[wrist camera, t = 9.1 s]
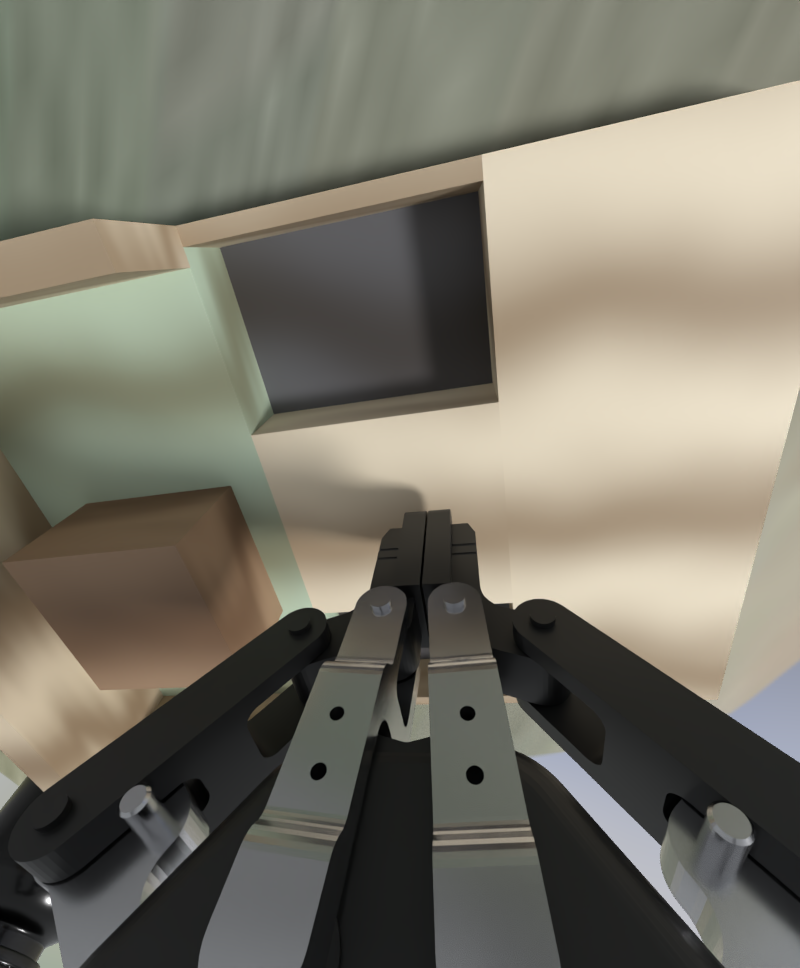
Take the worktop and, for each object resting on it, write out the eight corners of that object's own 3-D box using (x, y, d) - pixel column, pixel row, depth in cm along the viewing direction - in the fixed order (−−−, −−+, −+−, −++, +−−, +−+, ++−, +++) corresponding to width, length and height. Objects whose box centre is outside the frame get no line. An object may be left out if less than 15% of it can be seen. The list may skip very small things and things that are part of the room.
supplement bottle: (57, 706, 28) (-180, 983, 17) (138, 690, 26) (-73, 988, 16) (124, 765, 31) (-44, 1034, 20) (201, 755, 29) (59, 1043, 18)
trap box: (-58, 293, 15) (-436, 324, 9) (796, 98, 11) (1340, -137, 4) (173, 668, 24) (72, 820, 18) (688, 650, 20) (805, 846, 13)
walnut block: (86, 503, 16) (1, 562, 13) (230, 485, 15) (175, 545, 12) (156, 619, 19) (99, 690, 16) (283, 610, 18) (248, 685, 15)
